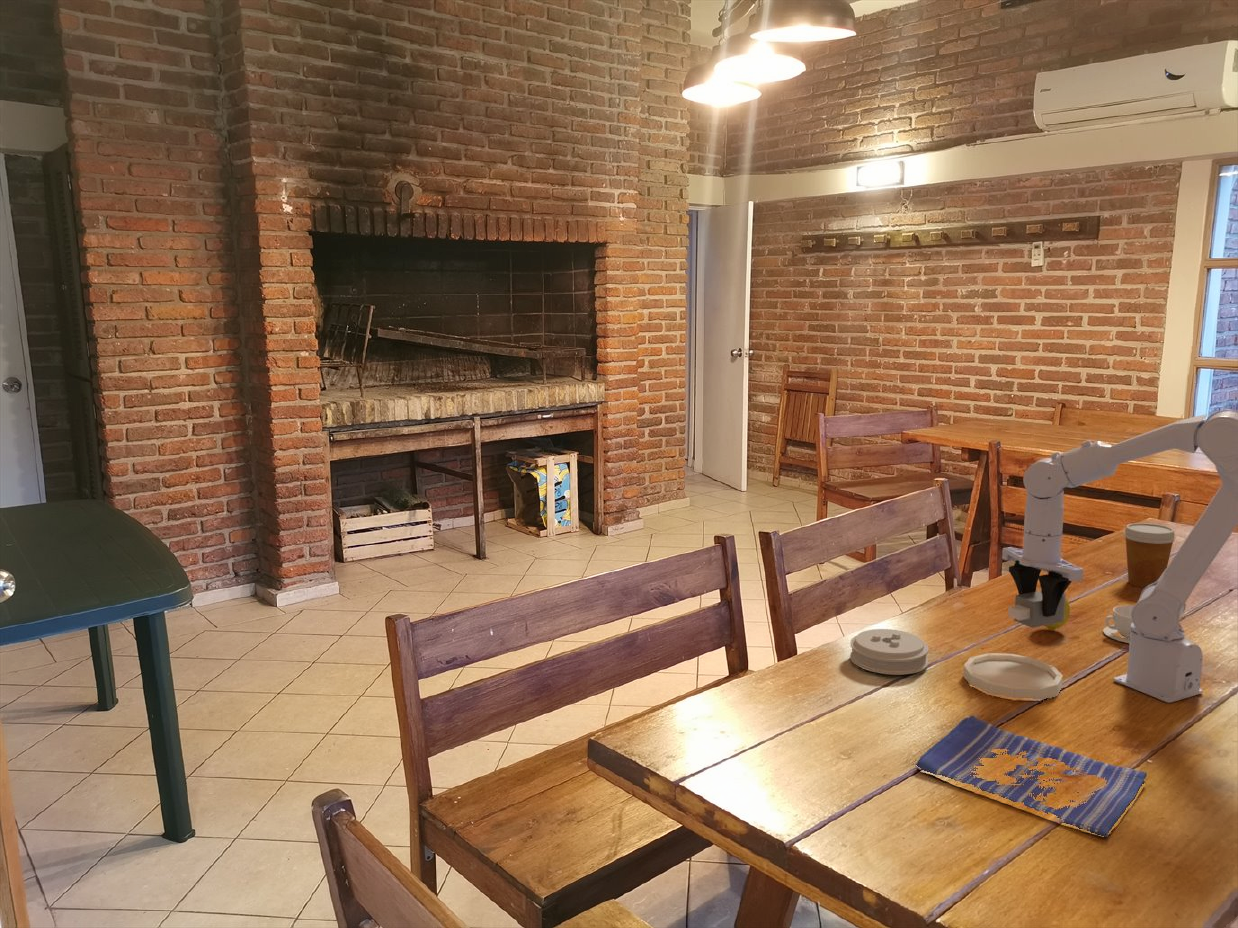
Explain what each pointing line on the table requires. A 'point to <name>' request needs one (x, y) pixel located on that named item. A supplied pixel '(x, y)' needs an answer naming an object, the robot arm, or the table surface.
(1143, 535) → the disposable coffee cup
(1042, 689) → the plate
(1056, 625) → the lemon
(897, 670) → the lid
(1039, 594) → the connector
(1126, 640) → the teacup
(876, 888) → the table surface
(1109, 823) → the dish towel
